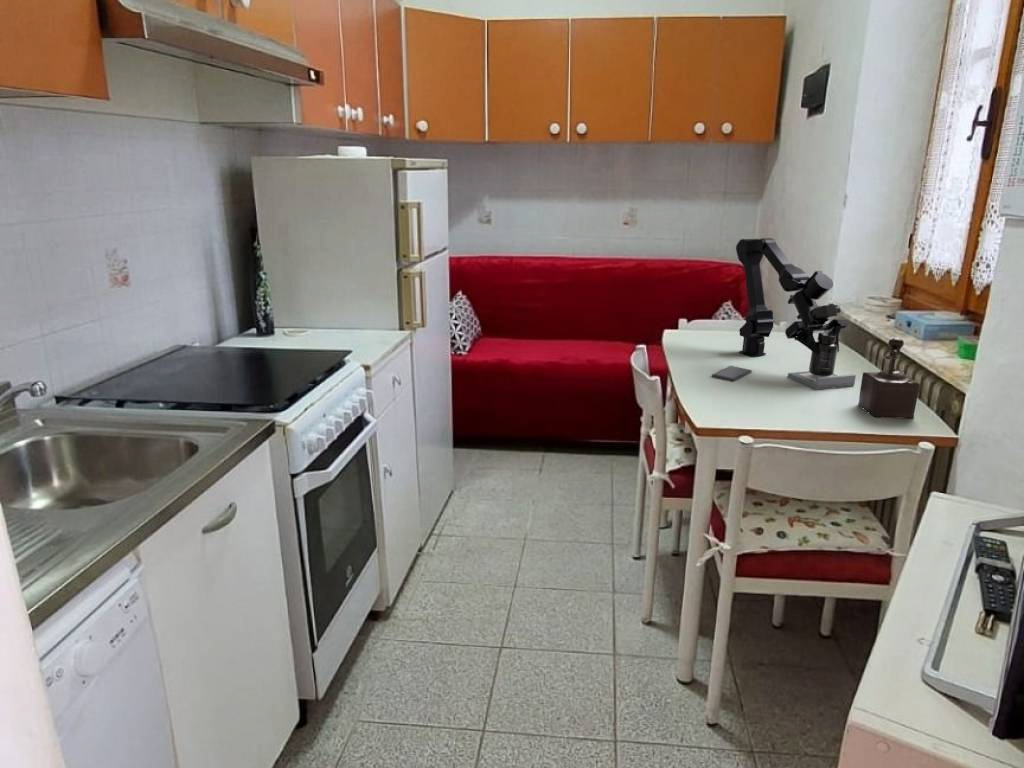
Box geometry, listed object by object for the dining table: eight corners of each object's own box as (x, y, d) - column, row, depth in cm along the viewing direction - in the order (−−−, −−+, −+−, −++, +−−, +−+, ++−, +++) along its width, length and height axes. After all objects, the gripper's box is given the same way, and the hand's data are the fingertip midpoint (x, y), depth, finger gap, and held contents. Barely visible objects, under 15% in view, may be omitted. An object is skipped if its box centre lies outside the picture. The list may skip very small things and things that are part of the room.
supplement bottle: (837, 374, 209) (844, 335, 206) (825, 378, 205) (832, 338, 202) (816, 368, 215) (822, 330, 211) (804, 372, 211) (810, 333, 207)
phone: (711, 376, 213) (712, 374, 213) (730, 368, 223) (730, 365, 222) (733, 381, 209) (734, 378, 209) (751, 372, 218) (751, 369, 218)
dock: (787, 376, 214) (789, 366, 214) (822, 373, 218) (824, 363, 217) (817, 389, 203) (819, 378, 202) (854, 385, 207) (855, 375, 206)
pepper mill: (917, 419, 180) (930, 351, 175) (873, 417, 181) (885, 349, 175) (889, 399, 195) (901, 336, 190) (849, 398, 196) (859, 335, 190)
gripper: (797, 294, 204) (818, 340, 197) (849, 291, 209) (871, 336, 203) (776, 315, 213) (795, 360, 207) (826, 312, 219) (846, 355, 212)
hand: (827, 352), depth 207 cm, fingers closed on supplement bottle, 7 cm apart
